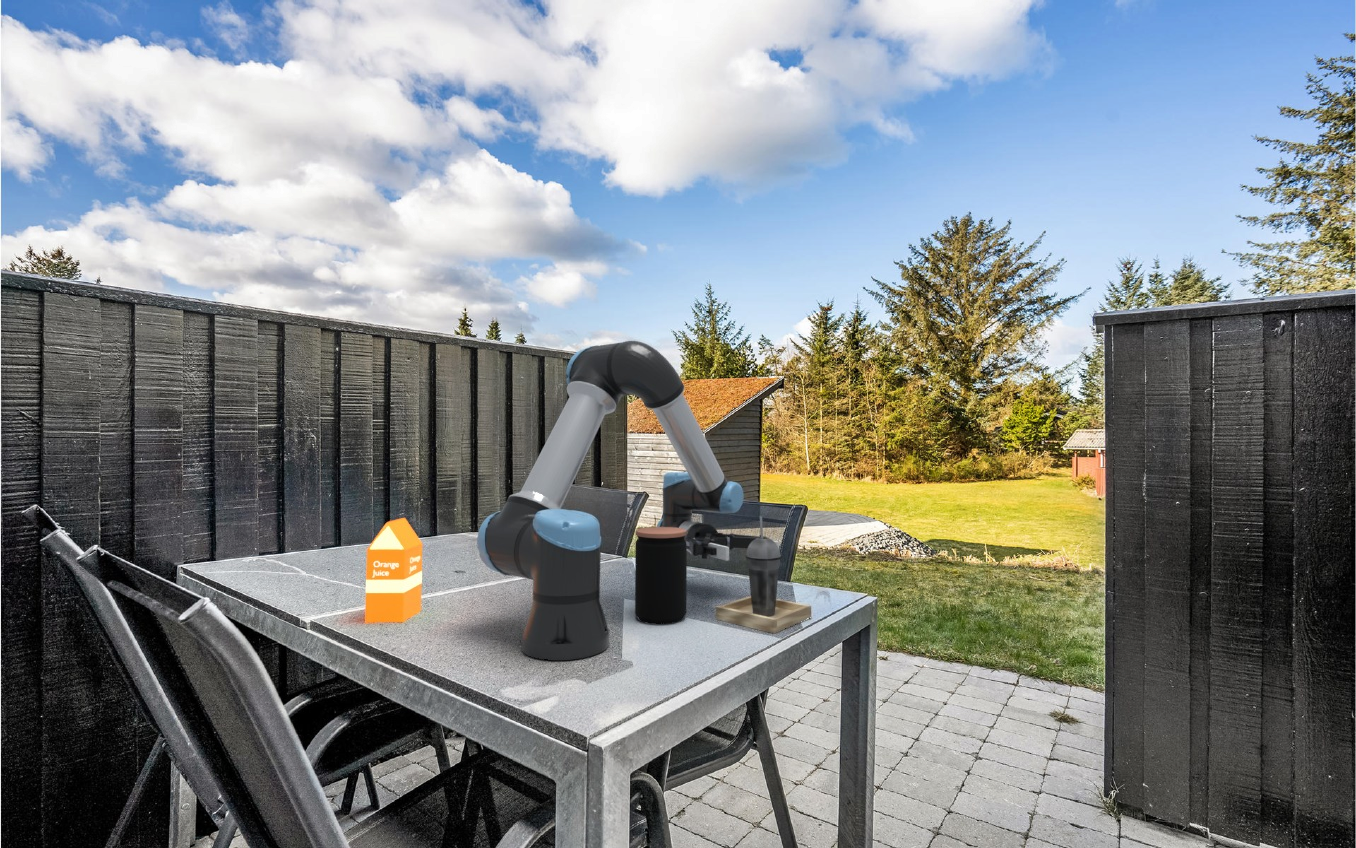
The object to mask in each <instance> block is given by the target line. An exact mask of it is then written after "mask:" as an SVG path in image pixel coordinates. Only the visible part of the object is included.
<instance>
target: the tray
mask: <svg viewBox="0 0 1356 848" xmlns="http://www.w3.org/2000/svg"><path fill="white" fill-rule="evenodd" d="M810 617H811V618H812V605H809V604H805V603H800V602H799V603H798V602H794V601H789V600H784V599H779V598H776V607H775V615H774V616H770V617H766V616H762V615H757V614H753V610H752V603H751V595H750V596H749V595H748V596H746V597H743V598H739V599H737V600H733V601H731V602H727V603H724V604H721V605H717V606H715V619H716V620H717V621H718V620H719V621H721V622H722V621H723V622H727V623H730V624H735V625H738V626H743V627H745V628H751V629H754V630H759V631H763V632H766V633H770V634H776V633H779V632H781V631H784V630H786V629H789V628H791V627H794V626H796V625H797V624H796V623H798V624H800V622H801V621H803V622H805V621H807V620H806V619H807V618H810ZM811 618H810V619H811ZM804 620H805V621H804ZM801 623H802V622H801ZM795 624H796V625H795ZM790 626H791V627H790ZM785 628H786V629H785ZM780 630H781V631H780Z"/></svg>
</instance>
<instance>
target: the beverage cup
mask: <svg viewBox="0 0 1356 848" xmlns="http://www.w3.org/2000/svg"><path fill="white" fill-rule="evenodd" d="M759 529H760V530H759V533H760V534H761V537H759V538H756V539H755V540H753V541H752V542H751V543H750V544H749V546H748V548H746V555H745V558H746V564H747V568H748V577H749V588H750V596H751V603H752V610H753V614H757V615H762V616H766V617H770V616H774V615H775V607H776V599H777V597H778V596H777V594H778V581H779V570H780V569H779V568H780V564H781V559H782V556H781V551H780V547H779V548H778V546H777V544H776V543H775V542H774V541H775V540H773V539H771V538H769V537H767V536H765V537H763V536H764V530H763V529H764V528H763V516H761V515H759ZM760 534H759V535H760ZM766 537H767V538H766Z"/></svg>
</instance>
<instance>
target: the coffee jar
mask: <svg viewBox="0 0 1356 848" xmlns="http://www.w3.org/2000/svg"><path fill="white" fill-rule="evenodd" d="M686 532H687V531H686V530H685V529H682V528H675V527H657V526H649V527H641V528H638V529H635V535H636V537H637V540H635V550H634V551H635V555H634V556H635V557H634V558H635V573H634V578H635V580H634V582H635V583H634V585H635V586H634V589H635V590H634V592H635V593H634V594H635V595H634V600H635V601H634V614H635V617H637V619H638V620H639V621H640V622H642V623H644V624H650V625H670V624H676V623H680V622H681V621H683V620H684V618H685V616H686V615H687V592H688V591H687V586H688V585H687V582H688V581H687V578H688V577H687V571H688V567H687V566H688V565H687V557H688V555H687V553H688V551H687V544H686V541H685V539H684V537H685V535H686Z"/></svg>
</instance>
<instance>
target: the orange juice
mask: <svg viewBox="0 0 1356 848" xmlns="http://www.w3.org/2000/svg"><path fill="white" fill-rule="evenodd" d="M365 576H366V577H365V579H366V580H365V605H364V606H365V608H364V610H365V612H364V613H365V614H364V615H365V616H364V624H379V623H378V622H382V623H381V624H384V623H383V622H404V621H405V622H407V621H408V620H409V619H408V618H410V619H411V618H412V616H413V617H414V616H416V615H417V614H420V612H421V611H422V583H423V579H422V578H423V542H422V541H421V540H420V538H419V537H418V535H417V534H416V532H415V530H414V529H413V528H412V526H411V524H409V522H408V520H407V519H406V517H402V518H397V519H393V520H389V521H387V522H386V523H385V524H384V526H383V527H382V528H381V530H380V531H379V532H378V534H377V535H376V536H375V538H374V539H373V541H372V542H371V543H370V545H369V547H368V548H366V575H365ZM415 614H416V615H415ZM407 619H408V620H407ZM406 620H407V621H406ZM368 622H369V623H368ZM373 622H375V623H373ZM376 622H377V623H376ZM405 622H404V623H405Z"/></svg>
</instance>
